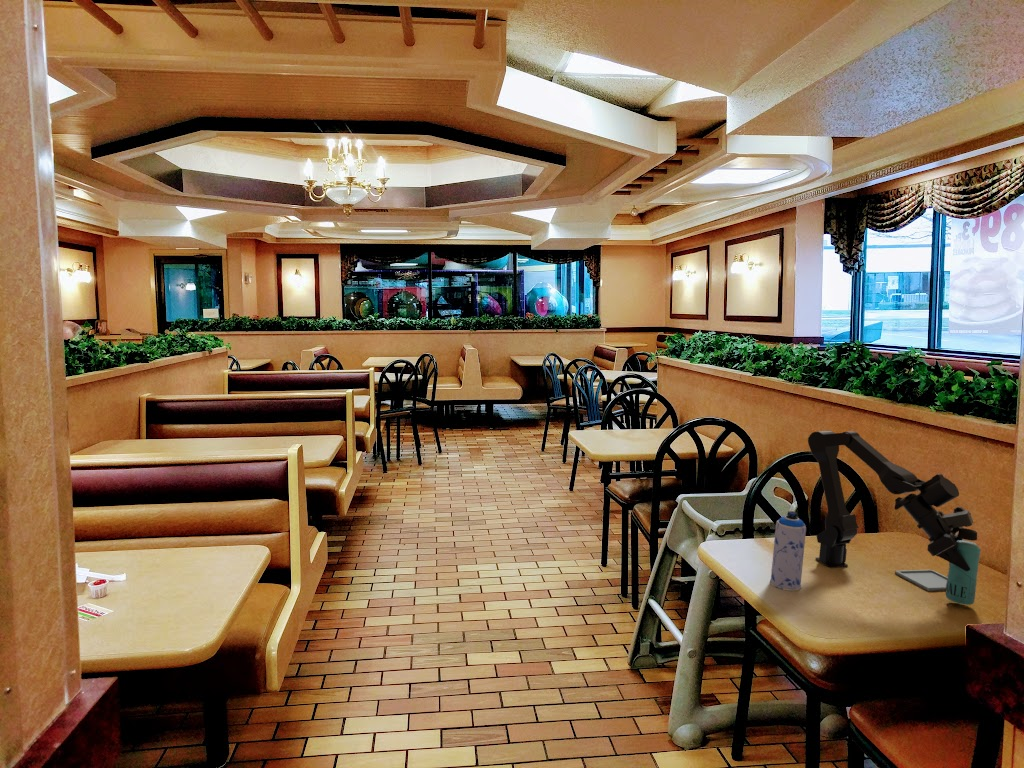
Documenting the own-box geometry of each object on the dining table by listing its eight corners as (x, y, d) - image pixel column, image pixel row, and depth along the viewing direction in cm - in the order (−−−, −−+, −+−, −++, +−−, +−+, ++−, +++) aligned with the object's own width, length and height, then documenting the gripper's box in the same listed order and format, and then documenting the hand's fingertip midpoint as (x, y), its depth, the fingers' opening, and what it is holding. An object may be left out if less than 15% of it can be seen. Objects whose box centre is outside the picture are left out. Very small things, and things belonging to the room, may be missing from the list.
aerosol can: (787, 578, 188) (793, 507, 186) (807, 589, 181) (815, 515, 179) (763, 580, 186) (770, 508, 183) (783, 591, 178) (790, 517, 176)
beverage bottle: (971, 603, 177) (980, 528, 175) (976, 613, 171) (986, 535, 169) (942, 597, 179) (951, 523, 177) (946, 607, 173) (955, 530, 171)
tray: (928, 591, 184) (928, 587, 183) (894, 573, 195) (895, 570, 195) (966, 589, 186) (967, 586, 186) (931, 572, 198) (931, 569, 198)
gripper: (948, 505, 167) (997, 560, 162) (957, 491, 182) (1003, 542, 176) (908, 528, 173) (954, 582, 167) (920, 513, 188) (963, 563, 182)
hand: (970, 566), depth 173 cm, fingers closed on beverage bottle, 6 cm apart
